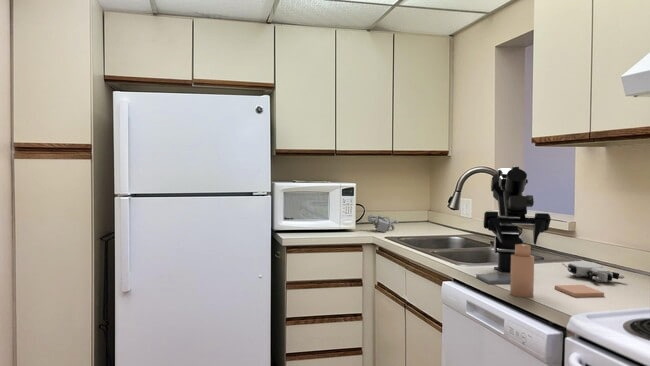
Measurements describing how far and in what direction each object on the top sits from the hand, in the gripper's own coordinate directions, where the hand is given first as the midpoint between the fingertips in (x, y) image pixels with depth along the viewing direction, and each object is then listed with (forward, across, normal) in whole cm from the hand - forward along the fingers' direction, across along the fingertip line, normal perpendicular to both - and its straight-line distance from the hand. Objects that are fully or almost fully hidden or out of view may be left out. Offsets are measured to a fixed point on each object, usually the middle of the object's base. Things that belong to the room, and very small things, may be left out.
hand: (518, 242), depth 138 cm
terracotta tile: (+10, +16, +10) cm, 21 cm away
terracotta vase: (+15, 0, +4) cm, 15 cm away
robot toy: (-5, +26, +24) cm, 36 cm away
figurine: (-73, -54, +92) cm, 130 cm away
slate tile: (+3, -5, +16) cm, 17 cm away
